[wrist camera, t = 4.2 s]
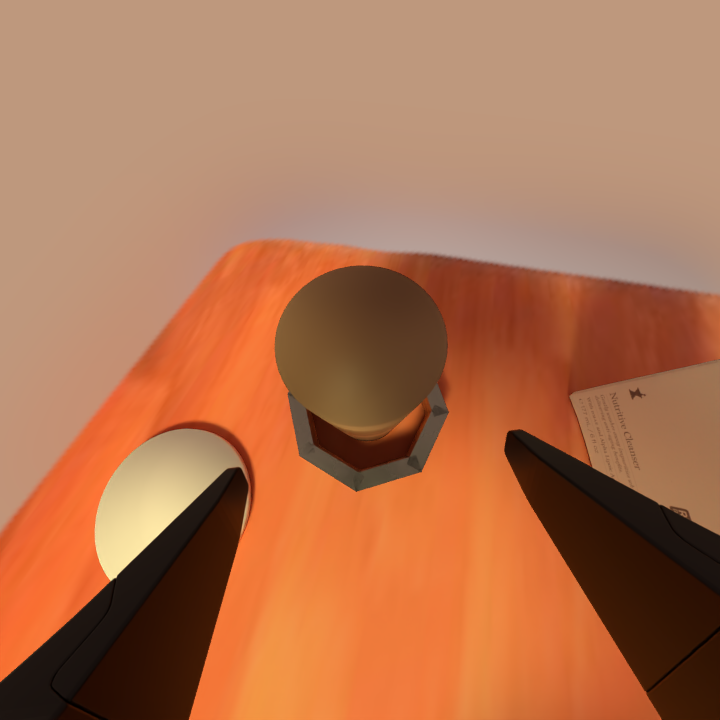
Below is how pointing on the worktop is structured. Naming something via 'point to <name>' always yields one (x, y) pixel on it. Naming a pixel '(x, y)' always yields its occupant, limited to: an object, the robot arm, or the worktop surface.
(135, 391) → the worktop surface
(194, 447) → the cream disc
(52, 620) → the worktop surface
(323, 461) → the steel ring
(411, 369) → the walnut peg
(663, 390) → the skincare box
